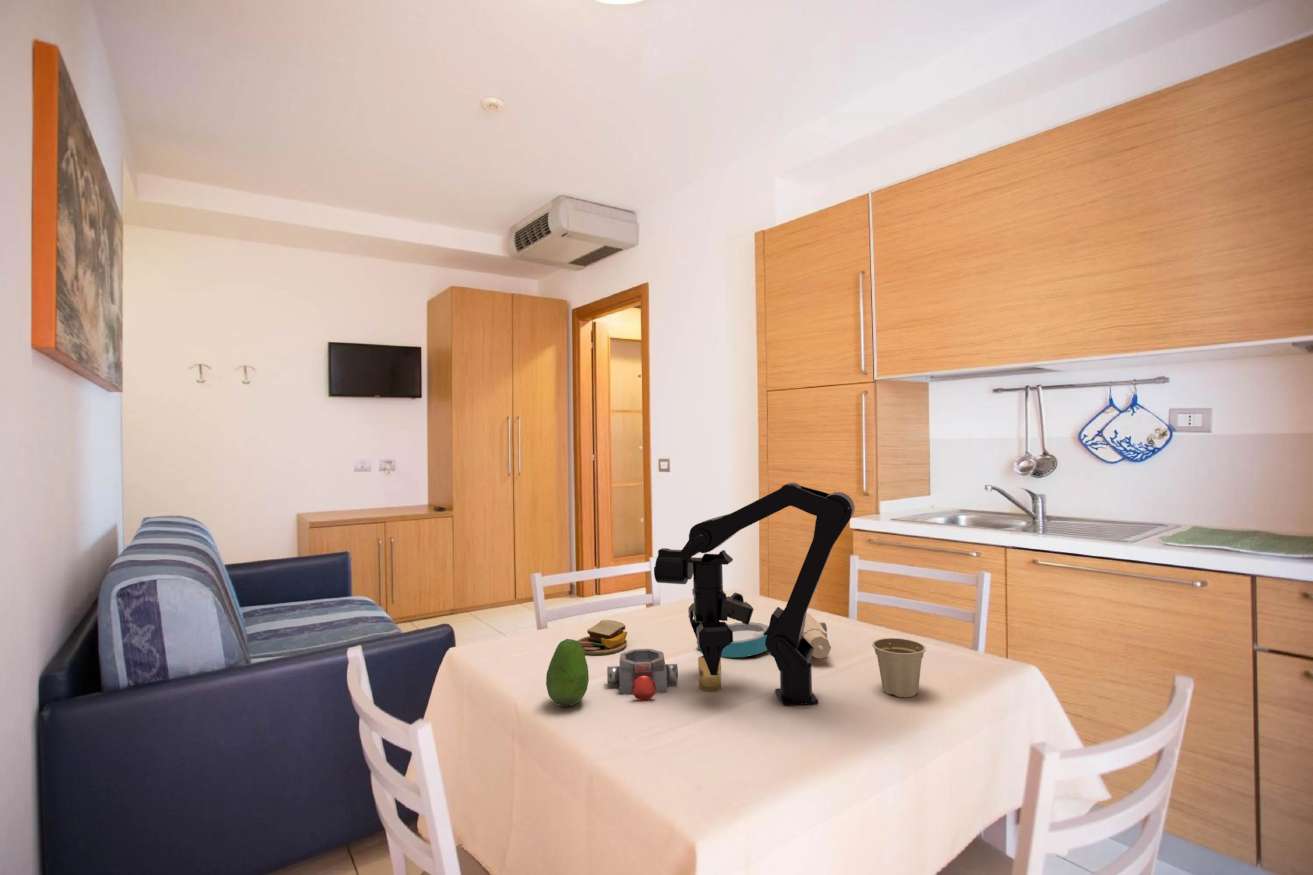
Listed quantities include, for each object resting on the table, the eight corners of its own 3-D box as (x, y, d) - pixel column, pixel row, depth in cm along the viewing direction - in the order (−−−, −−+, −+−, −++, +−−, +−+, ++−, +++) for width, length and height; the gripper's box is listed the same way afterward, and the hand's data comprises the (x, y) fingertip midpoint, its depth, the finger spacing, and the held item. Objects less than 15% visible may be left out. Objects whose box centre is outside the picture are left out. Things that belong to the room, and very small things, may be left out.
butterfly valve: (702, 683, 129) (845, 665, 129) (698, 650, 129) (840, 632, 129) (697, 642, 156) (815, 627, 155) (693, 615, 156) (811, 600, 155)
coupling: (723, 691, 118) (722, 662, 118) (700, 692, 118) (699, 663, 118) (719, 682, 122) (718, 654, 122) (697, 683, 122) (696, 655, 122)
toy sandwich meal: (562, 649, 145) (562, 629, 145) (604, 635, 155) (603, 616, 155) (599, 661, 137) (599, 639, 137) (640, 645, 147) (640, 625, 147)
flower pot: (862, 686, 118) (861, 641, 119) (900, 678, 122) (898, 634, 122) (899, 705, 110) (898, 656, 110) (938, 695, 113) (937, 648, 114)
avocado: (593, 709, 111) (591, 642, 111) (549, 716, 109) (547, 647, 109) (585, 693, 118) (584, 630, 119) (544, 698, 116) (542, 634, 116)
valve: (681, 698, 115) (680, 669, 115) (606, 702, 114) (606, 672, 114) (675, 673, 127) (674, 647, 127) (608, 676, 126) (607, 649, 126)
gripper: (759, 595, 111) (762, 682, 111) (739, 574, 130) (741, 648, 130) (698, 597, 111) (700, 685, 111) (687, 576, 129) (689, 651, 129)
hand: (710, 666), depth 120 cm, fingers open, 9 cm apart
